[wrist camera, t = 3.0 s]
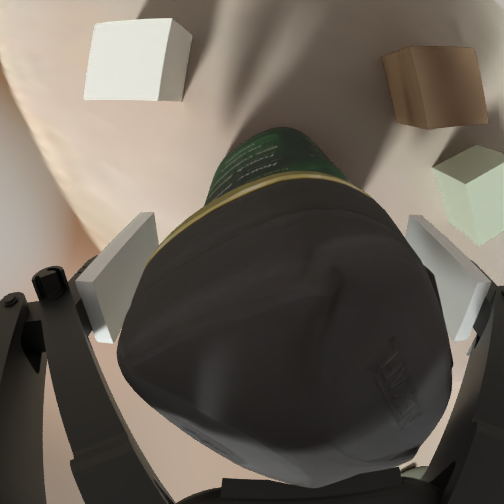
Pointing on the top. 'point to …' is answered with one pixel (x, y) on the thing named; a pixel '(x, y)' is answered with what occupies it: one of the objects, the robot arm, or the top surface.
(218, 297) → the coffee jar
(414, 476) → the air freshener
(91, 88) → the off-white block
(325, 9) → the top surface
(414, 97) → the walnut block
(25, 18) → the top surface
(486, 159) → the sage block
